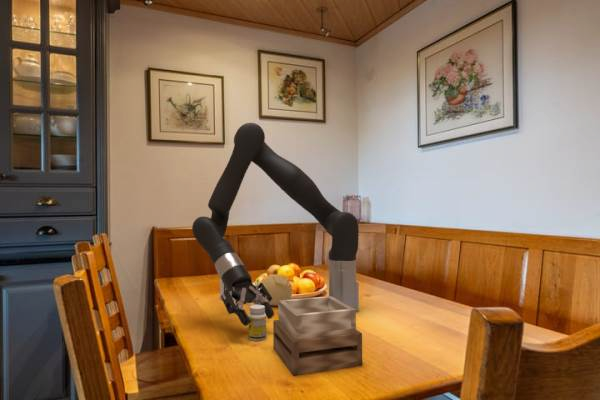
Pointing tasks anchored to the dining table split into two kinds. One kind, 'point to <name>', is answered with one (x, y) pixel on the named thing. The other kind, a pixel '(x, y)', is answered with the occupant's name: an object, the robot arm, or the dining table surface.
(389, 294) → the dining table surface
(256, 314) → the supplement bottle
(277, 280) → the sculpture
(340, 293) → the robot arm
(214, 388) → the dining table surface
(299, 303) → the crate stack
